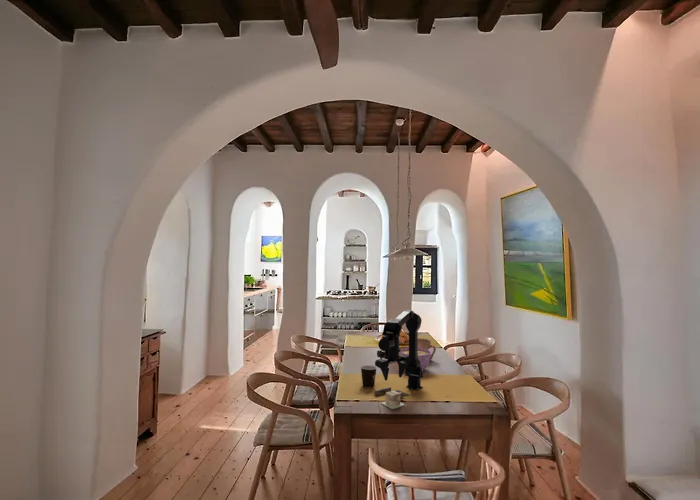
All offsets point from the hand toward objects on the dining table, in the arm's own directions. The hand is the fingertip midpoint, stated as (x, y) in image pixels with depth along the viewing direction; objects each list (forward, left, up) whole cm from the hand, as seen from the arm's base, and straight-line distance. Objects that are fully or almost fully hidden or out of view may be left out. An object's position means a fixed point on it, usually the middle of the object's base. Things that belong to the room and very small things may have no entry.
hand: (393, 378), depth 190 cm
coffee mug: (-7, -27, -12) cm, 30 cm away
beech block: (+2, +2, -11) cm, 11 cm away
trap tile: (-12, -8, -12) cm, 18 cm away
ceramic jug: (-71, -50, -12) cm, 87 cm away
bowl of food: (-50, -36, -12) cm, 63 cm away
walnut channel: (-4, -8, -12) cm, 15 cm away
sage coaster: (+2, +2, -12) cm, 12 cm away
